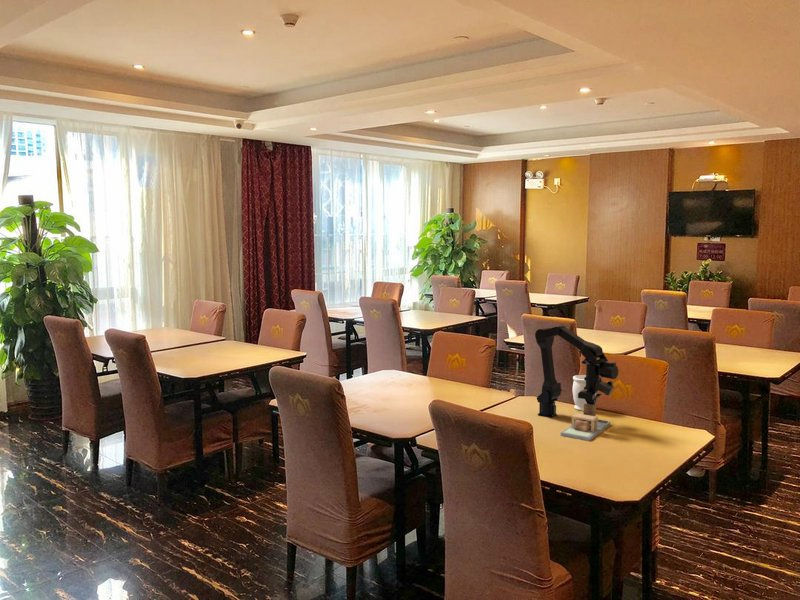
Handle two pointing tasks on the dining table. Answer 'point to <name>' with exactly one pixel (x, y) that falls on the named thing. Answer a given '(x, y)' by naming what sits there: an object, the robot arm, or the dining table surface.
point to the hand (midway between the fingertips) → (591, 410)
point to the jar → (577, 387)
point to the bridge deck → (595, 429)
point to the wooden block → (584, 424)
